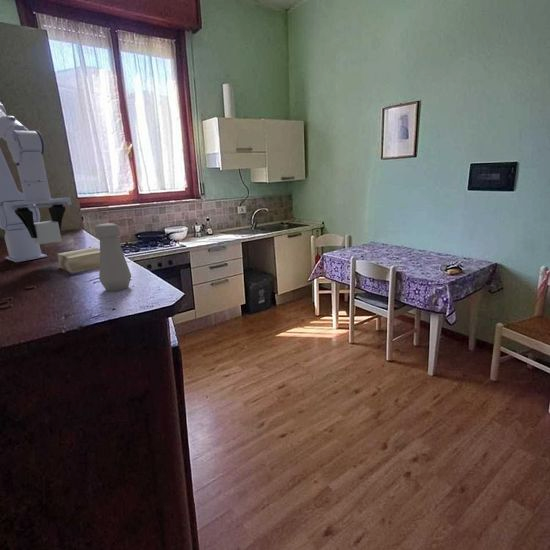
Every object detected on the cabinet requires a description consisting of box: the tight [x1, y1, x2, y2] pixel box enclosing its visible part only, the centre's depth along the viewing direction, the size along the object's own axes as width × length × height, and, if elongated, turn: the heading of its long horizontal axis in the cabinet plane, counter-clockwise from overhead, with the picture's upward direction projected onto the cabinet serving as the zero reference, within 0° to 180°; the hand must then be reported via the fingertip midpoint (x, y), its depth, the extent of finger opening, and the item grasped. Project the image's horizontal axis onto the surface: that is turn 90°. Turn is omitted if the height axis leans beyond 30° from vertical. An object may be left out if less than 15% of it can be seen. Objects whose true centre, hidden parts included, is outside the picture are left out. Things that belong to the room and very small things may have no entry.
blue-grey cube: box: [33, 220, 63, 245], centre depth 93 cm, size 5×5×5 cm
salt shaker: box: [94, 222, 132, 293], centre depth 70 cm, size 6×6×13 cm
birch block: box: [56, 246, 100, 274], centre depth 91 cm, size 9×9×4 cm
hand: (46, 236), depth 93 cm, fingers closed on blue-grey cube, 5 cm apart
